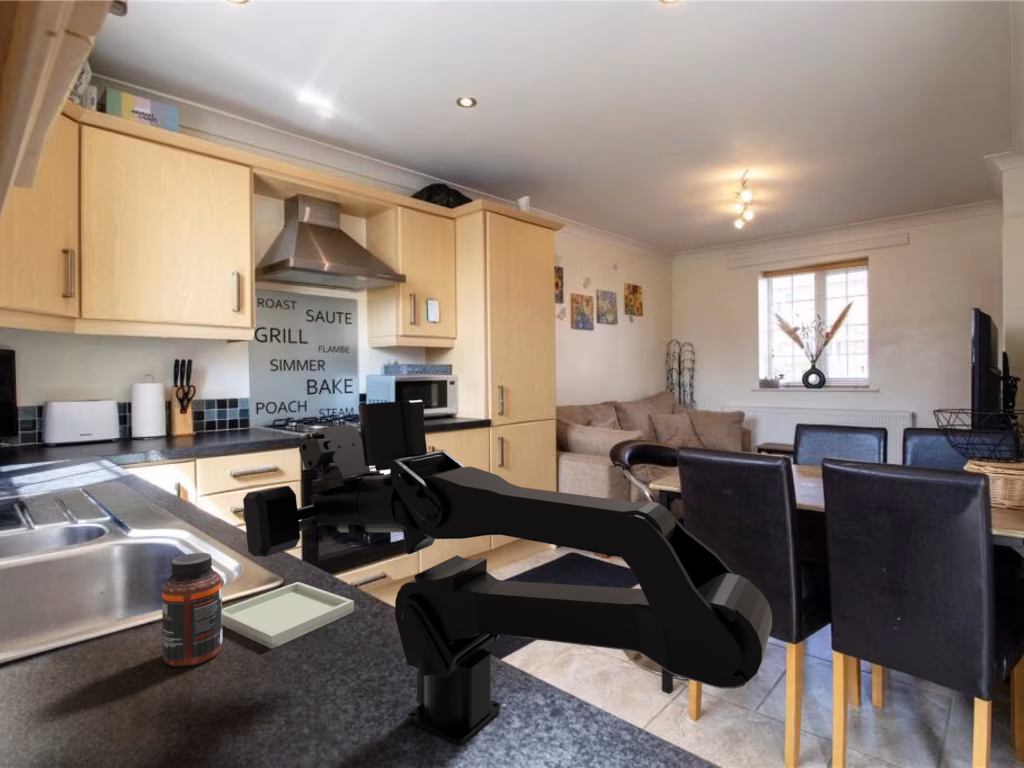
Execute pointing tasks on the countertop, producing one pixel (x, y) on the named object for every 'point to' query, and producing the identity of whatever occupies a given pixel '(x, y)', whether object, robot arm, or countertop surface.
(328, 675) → the countertop surface
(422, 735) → the countertop surface
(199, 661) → the supplement bottle
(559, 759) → the countertop surface
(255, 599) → the tray
